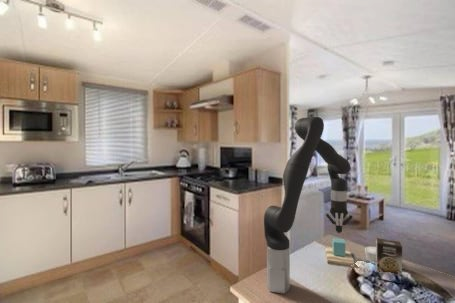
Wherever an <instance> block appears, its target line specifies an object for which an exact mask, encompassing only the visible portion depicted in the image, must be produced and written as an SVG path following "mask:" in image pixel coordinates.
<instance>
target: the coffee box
mask: <svg viewBox="0 0 455 303" xmlns="http://www.w3.org/2000/svg"><path fill="white" fill-rule="evenodd" d="M375 247H376V264H375V269H376V268H377V270H378V271H379V272H391V273H394V274H399V275H402V276H403V245H402V243H401V242H400V241H396V240H391V239H384V238H378V237H376V238H375Z"/></svg>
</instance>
